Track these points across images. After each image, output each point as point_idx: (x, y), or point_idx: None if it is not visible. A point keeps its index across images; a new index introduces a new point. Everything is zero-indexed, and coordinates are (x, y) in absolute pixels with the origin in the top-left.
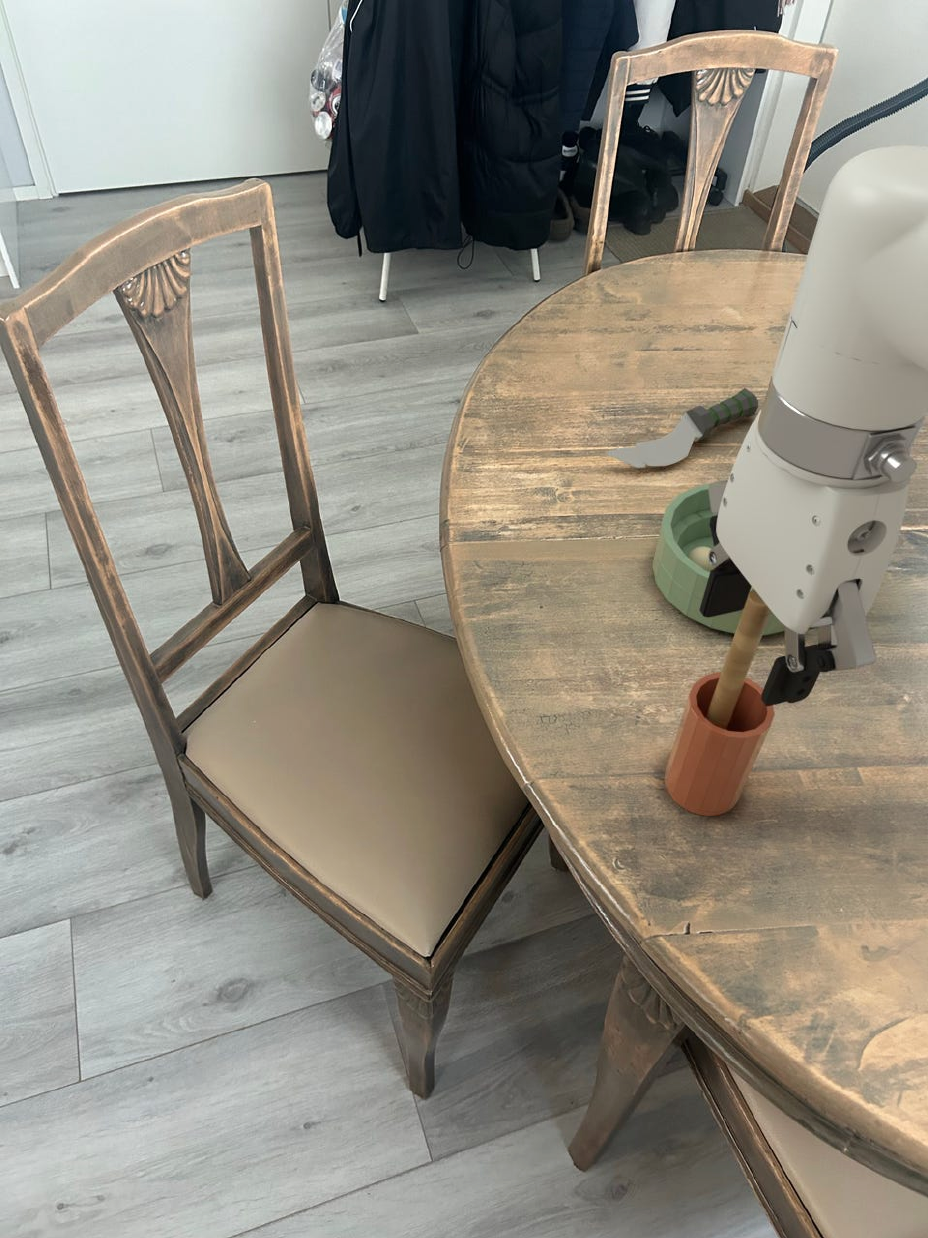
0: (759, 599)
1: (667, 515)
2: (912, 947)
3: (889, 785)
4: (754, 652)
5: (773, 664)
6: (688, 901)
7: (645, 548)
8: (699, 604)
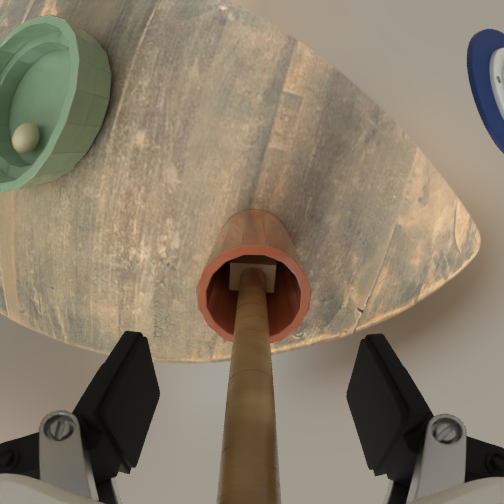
0: None
1: None
2: (430, 166)
3: (310, 76)
4: (272, 392)
5: (366, 459)
6: (344, 302)
7: None
8: (63, 165)
